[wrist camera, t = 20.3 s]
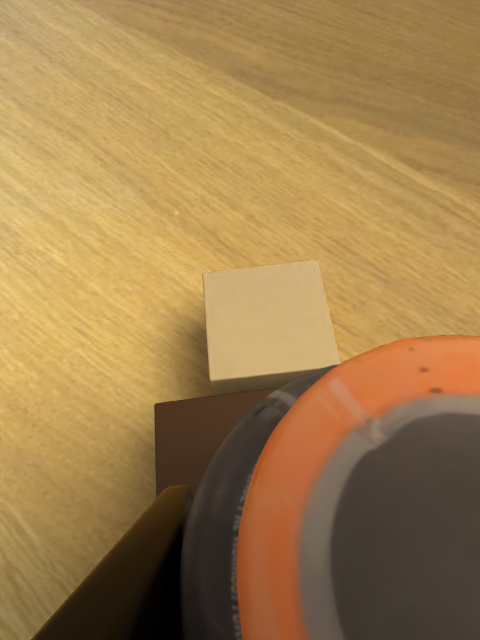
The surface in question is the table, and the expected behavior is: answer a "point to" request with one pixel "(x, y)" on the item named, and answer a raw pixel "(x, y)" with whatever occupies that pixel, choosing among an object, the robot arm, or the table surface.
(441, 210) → the table surface
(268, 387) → the beige cube
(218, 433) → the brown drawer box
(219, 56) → the table surface
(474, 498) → the pill bottle
